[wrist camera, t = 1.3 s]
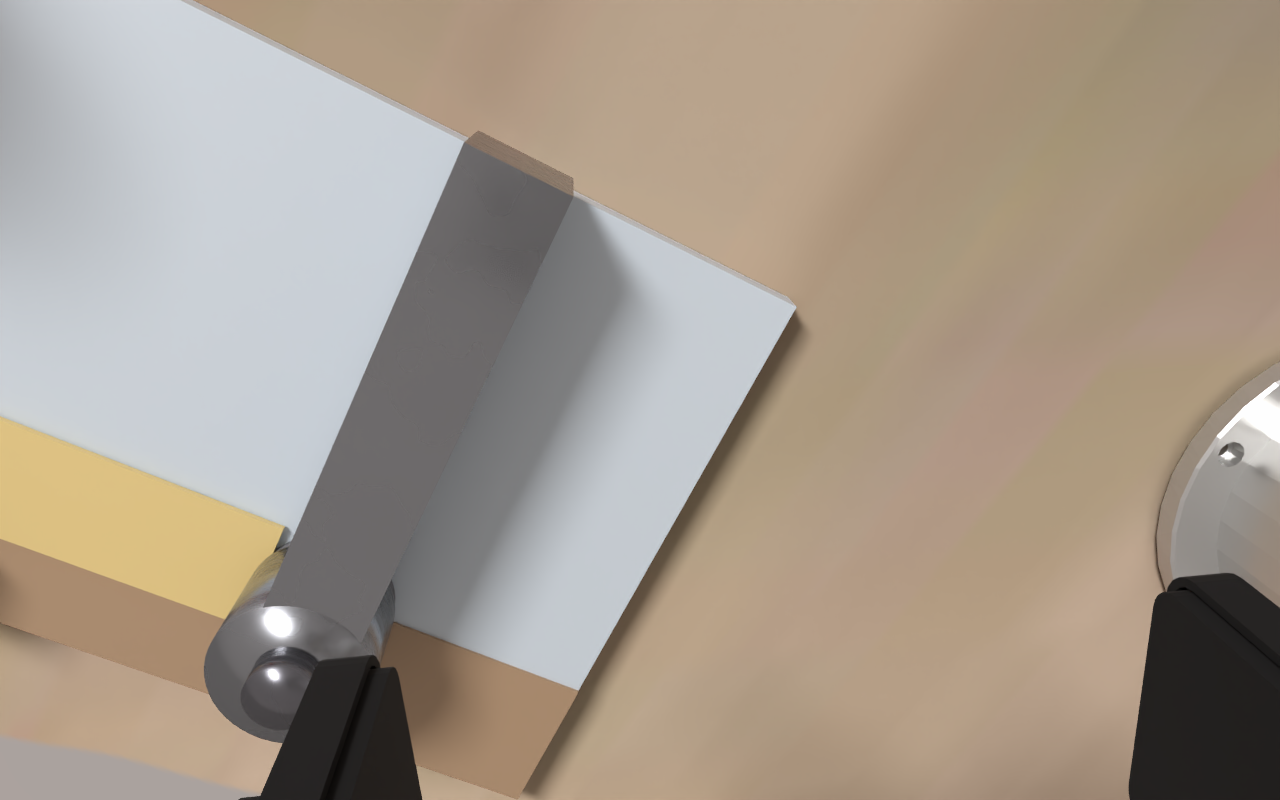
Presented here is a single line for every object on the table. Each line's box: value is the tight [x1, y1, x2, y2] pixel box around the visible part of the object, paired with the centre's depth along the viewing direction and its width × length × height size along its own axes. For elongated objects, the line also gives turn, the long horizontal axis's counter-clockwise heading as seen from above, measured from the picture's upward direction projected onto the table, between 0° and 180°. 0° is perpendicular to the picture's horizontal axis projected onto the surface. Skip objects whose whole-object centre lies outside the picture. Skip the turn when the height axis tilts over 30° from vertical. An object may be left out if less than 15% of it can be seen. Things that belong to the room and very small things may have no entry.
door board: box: [0, 0, 796, 799], centre depth 27 cm, size 26×20×4 cm
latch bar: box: [204, 131, 574, 743], centre depth 26 cm, size 18×5×5 cm, turn 153°
